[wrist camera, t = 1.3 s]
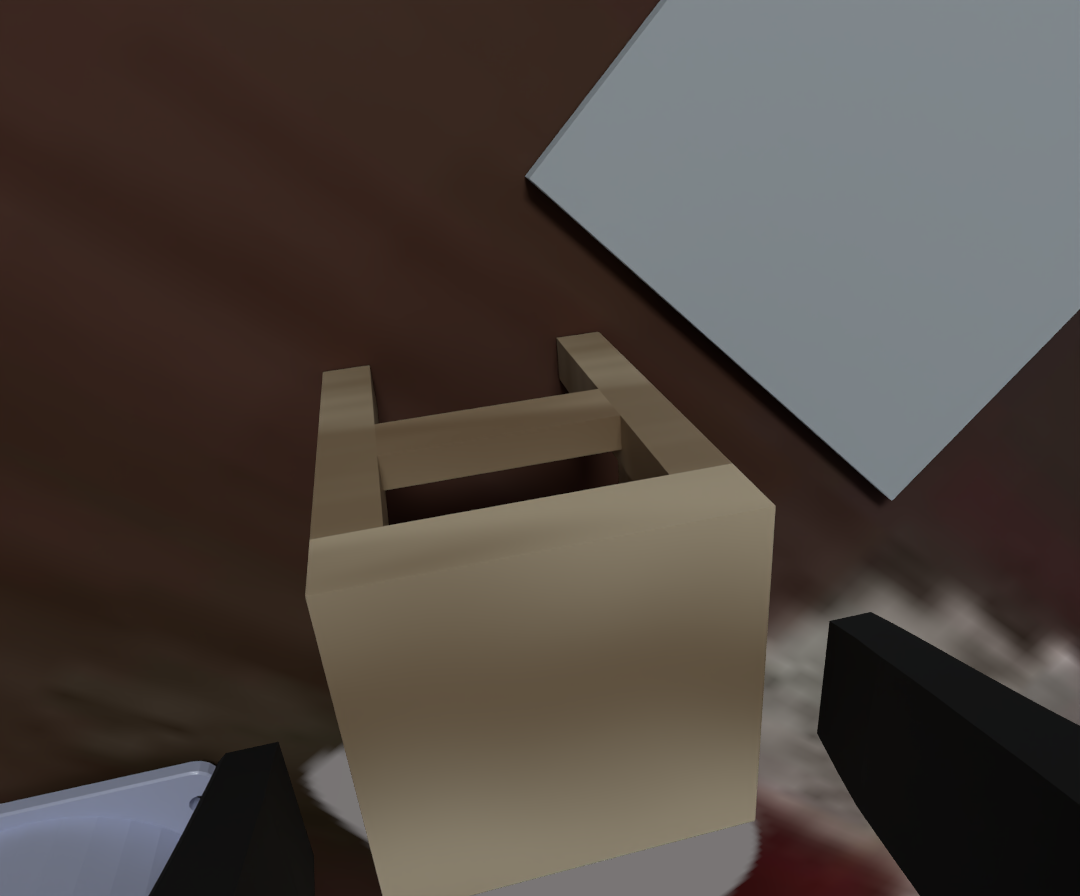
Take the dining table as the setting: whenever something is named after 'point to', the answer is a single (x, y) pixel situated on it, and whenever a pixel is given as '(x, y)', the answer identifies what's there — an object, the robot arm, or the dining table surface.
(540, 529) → the pine stool
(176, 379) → the dining table surface
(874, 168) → the rubber mat
